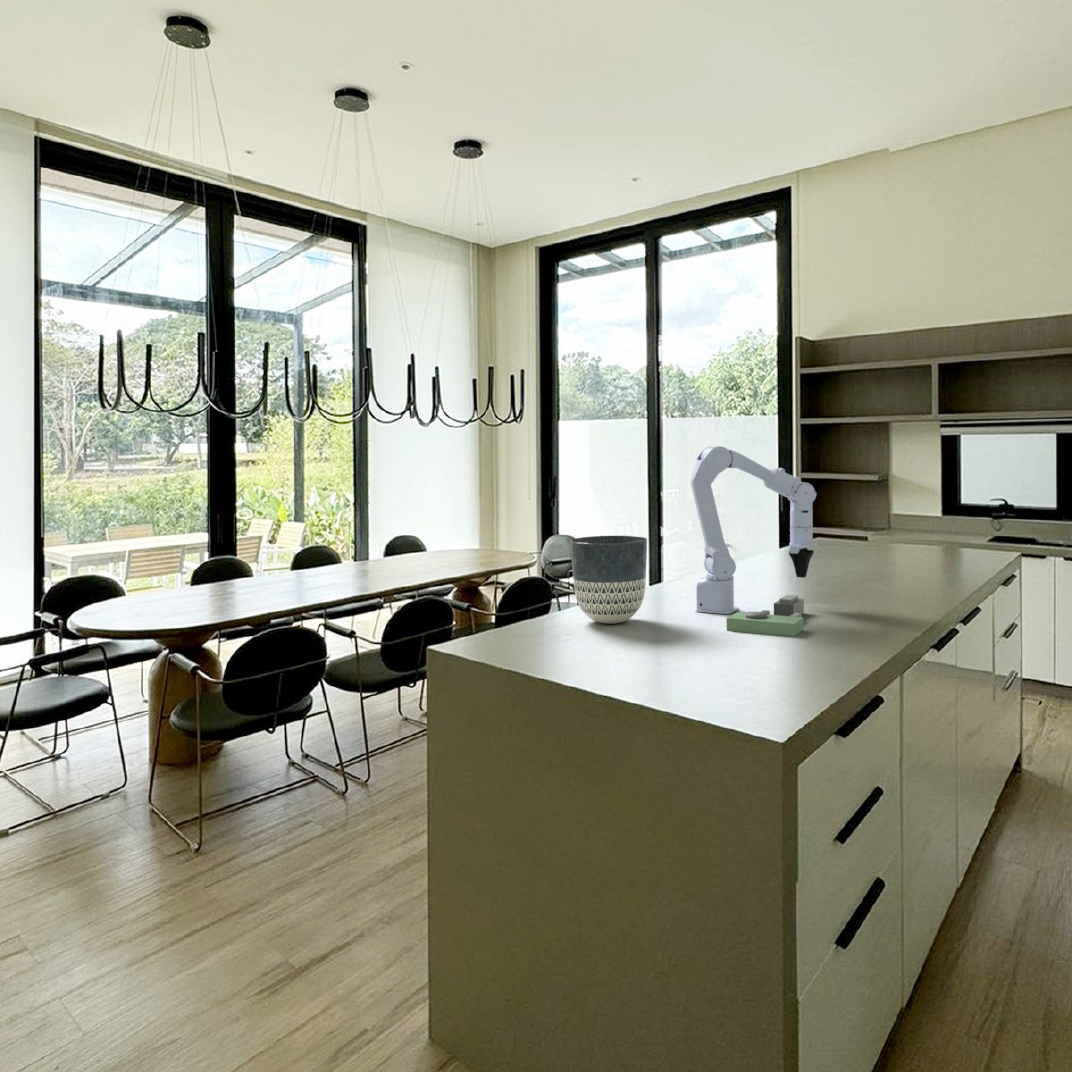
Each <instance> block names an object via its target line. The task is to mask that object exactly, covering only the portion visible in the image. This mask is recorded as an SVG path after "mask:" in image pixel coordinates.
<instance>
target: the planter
mask: <svg viewBox="0 0 1072 1072" xmlns="http://www.w3.org/2000/svg"><path fill="white" fill-rule="evenodd" d="M569 543H570V554H571V567H572V578H573V589H574V594H575V599H576V602H577V604H578V607H579V609H580V610H581V611H582V612H583V613H584V614H585V616H587V618H589V619H590V620H592V621H594V622H596V623H599V624H607V625H614V624H621V623H623V622H624V623H625V622H626V621H629V620H630V619H631V618H632V617H634V615H635V614H636V613H637V612H638V611H639V610H640V608H641V607H642V604H643V602H644V597H645V593H646V580H647V559H648V558H647V557H648V556H647V554H648V553H647V552H648V538H647V537H644V536H637V535H636V536H635V535H594V536H585V537H577V538H573V539H571V540H570V542H569Z"/></svg>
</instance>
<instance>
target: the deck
mask: <svg viewBox="0 0 1072 1072" xmlns="http://www.w3.org/2000/svg"><path fill="white" fill-rule="evenodd" d="M726 631H732V632H741V633H742V632H743V633H752V634H762V635H763V634H764V635H775V636H783V637H795V636H796V635H798V634H800V633H801V632H802V631H804V617H802V615H801V613H794V614H792V615H791V616H779V615H774V614H771V611H770V610H769V609H767V610H766V609H763V610H762V611H749V612H739V611H738V612H735V613H734V614H732V615H730V616H728V617H727V618H726Z"/></svg>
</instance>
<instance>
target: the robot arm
mask: <svg viewBox="0 0 1072 1072" xmlns="http://www.w3.org/2000/svg"><path fill="white" fill-rule="evenodd" d="M726 469H738V470H740V471H743V472H745V473H747V474H749V475H751V476H753V477H756V478H757V479H759V480H762V481H763V484H764V485H763V486H765V488H767V489H768V490H771V491H773V492H774V493H776V494H779V495H780V496H783V497H785V498H787V500H788V501H789V502H790V503H789V504H790V505H789V506H790V507H789V508H790V510H789V514H790V515H789V517H790V518H789V519H790V520H789V526H790V527H789V532H790V534H789V537H790V538H789V541H790V542H789V546H788V547H789V551H788V555H789V557H790V558H791V561H792V563H793V567H794V571H795V575H796V576H795V577H796V578H806V577H807V573H808V571H809V565H810V561H811V559H812V556H813V554H814V552H815V550H814V549H811V548H813V547H818V542H813V537H814V535H813V532H814V531H813V526H814V524H813V521H814V520H813V519H814V518H813V510H814V509H813V502H815V500H816V497H817V494H818V493H817V492H816V489H815V487H814V486H813V485H812V484H811V483H809V482H803V481H801V479H802V478H801V477H799V476H793V475H792V474H789V473H787V472H786V469H785V468H782V467H779V468H777V467H773V468H770V469H769V468H767V467H766V466H763V465H762V464H760V463H758V462H756V461H754V460H752V459H751V458H749V457H747V456H745V455H744V454H743V453H739V452H737V451H735V450H732V449H727V448H726V447H725V446H719V445H717V446H708V447H705V448H703V450H702V451H701V452H700V453H699V455H697V457H696V459H695V465H694V468H693V470H692V475H691V476H690V477H691V478H690V486H691V489H692V494H693V497H694V502H695V506H696V511H697V515H698V519H699V524H700V529H701V532H702V536H703V540H704V544H705V546H704V555H705V557H704V561H703V564H704V568H705V570H706V572H707V573H706V575H705V577H700V578H698V580H697V582H696V583H697V584H696V609H695V612H698V613H711V614H723V615H724V614H725V615H730V614H732V613H734V612H736V611H738V610H740V607H736V606H735V598H734V597H735V596H734V595H735V593H734V591H735V590H734V588H735V586H734V584H735V582H734V581H735V577H734V574H735V572H736V569H737V566H736V565H737V564H736V561H735V560H734V559H733V557H731V555H730V551H729V549H728V546H727V545H726V542H725V539H724V534H723V531H722V530H723V529H722V526H721V523H720V518H719V514H718V509H717V505H716V500H715V497H714V492H713V488H712V484H713V482H714V481H715V479H716V478H717V477H718V475H720V474H721V473H722V472H724V471H725V470H726ZM808 548H810V549H808Z"/></svg>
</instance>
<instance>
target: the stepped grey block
mask: <svg viewBox="0 0 1072 1072" xmlns="http://www.w3.org/2000/svg"><path fill="white" fill-rule="evenodd" d="M804 601H805V599H804V598H799V595H797V594H796V595H795V594H794V595H793V594H786V595H785V596H783V597H780V598H779V600H777V601H775V602H774V603H773V615H779V616H791V615H792V614H794V613H801V616H802V615H804V614H805V605H804V604H805V602H804Z"/></svg>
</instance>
